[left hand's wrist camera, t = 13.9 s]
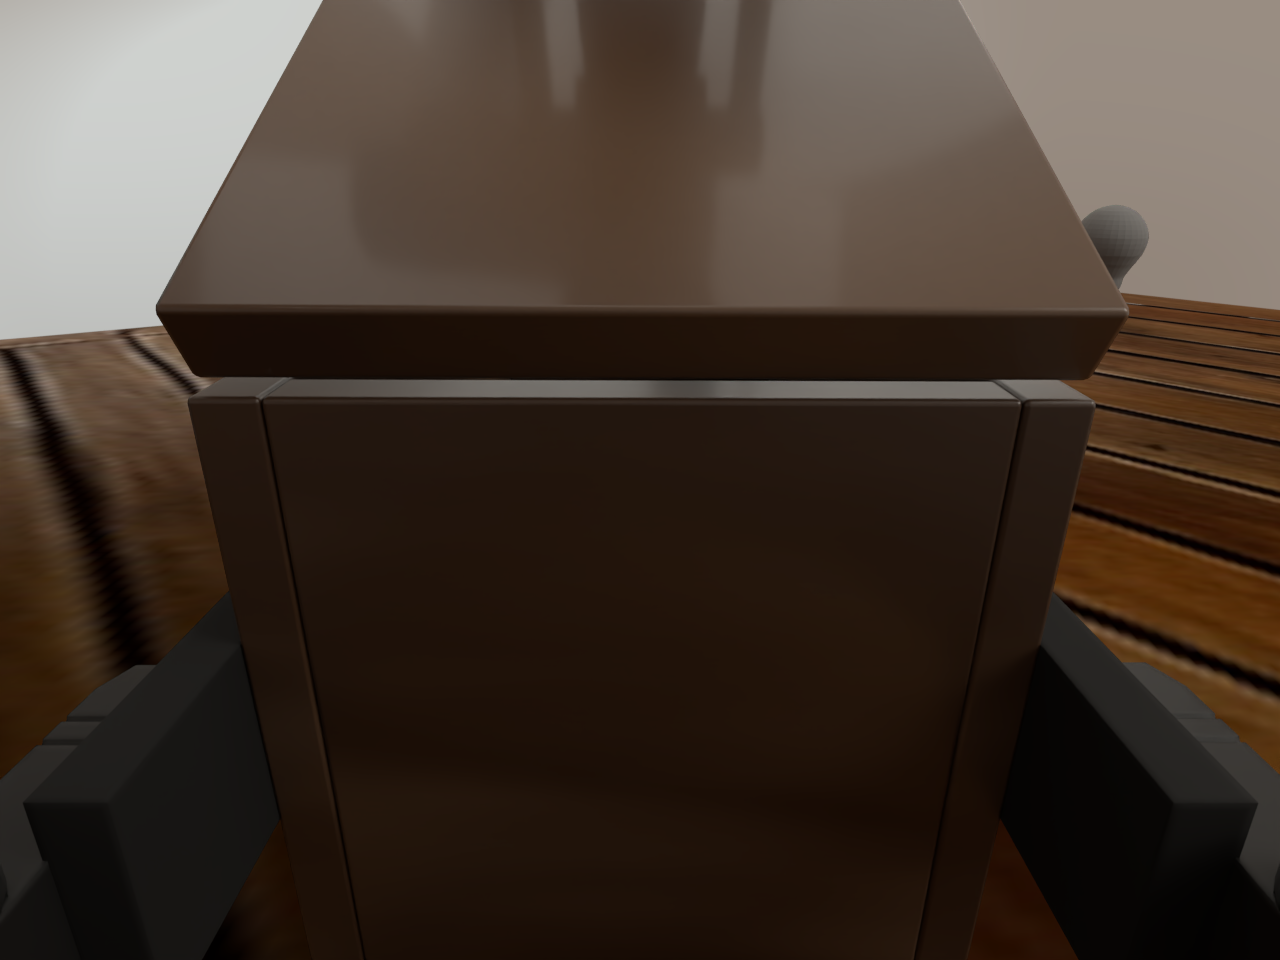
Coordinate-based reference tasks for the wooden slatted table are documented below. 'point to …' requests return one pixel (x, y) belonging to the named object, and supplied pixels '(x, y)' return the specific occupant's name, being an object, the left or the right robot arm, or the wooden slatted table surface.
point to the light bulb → (1117, 238)
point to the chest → (640, 653)
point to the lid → (642, 202)
